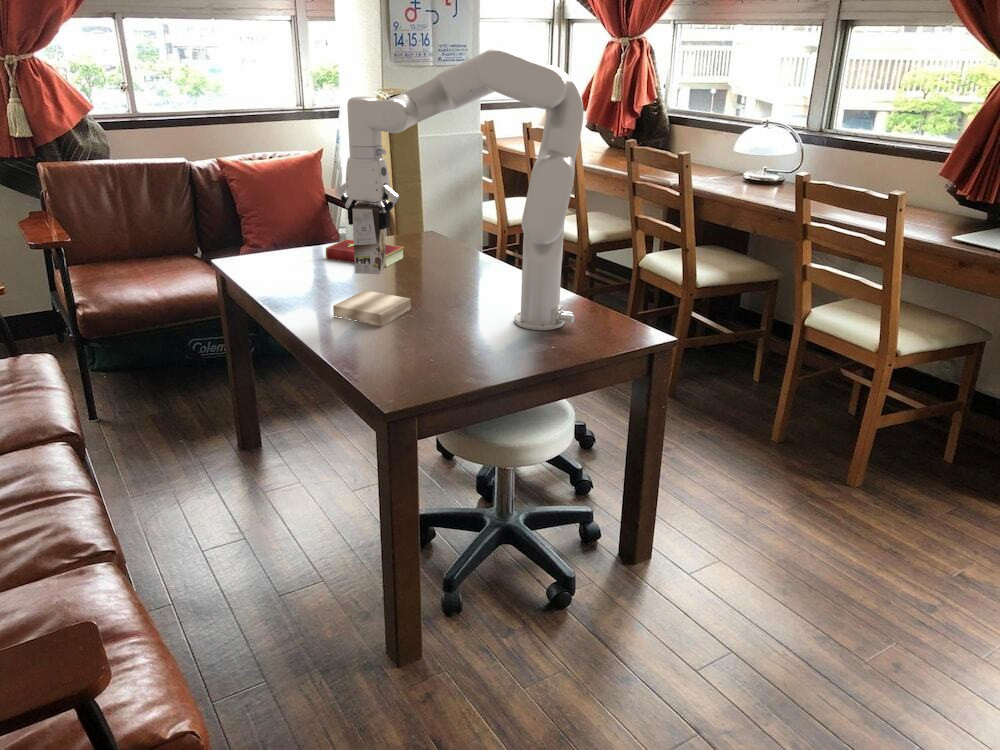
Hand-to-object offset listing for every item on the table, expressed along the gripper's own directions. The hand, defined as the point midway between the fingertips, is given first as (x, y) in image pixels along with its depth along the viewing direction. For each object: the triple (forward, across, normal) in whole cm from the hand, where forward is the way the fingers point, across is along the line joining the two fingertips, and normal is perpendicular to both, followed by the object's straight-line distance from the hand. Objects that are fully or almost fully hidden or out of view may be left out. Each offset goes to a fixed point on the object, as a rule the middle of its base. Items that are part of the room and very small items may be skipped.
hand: (368, 225), depth 197 cm
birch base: (+23, 0, 0) cm, 23 cm away
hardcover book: (+23, +30, -42) cm, 56 cm away
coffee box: (+11, 0, 0) cm, 11 cm away
